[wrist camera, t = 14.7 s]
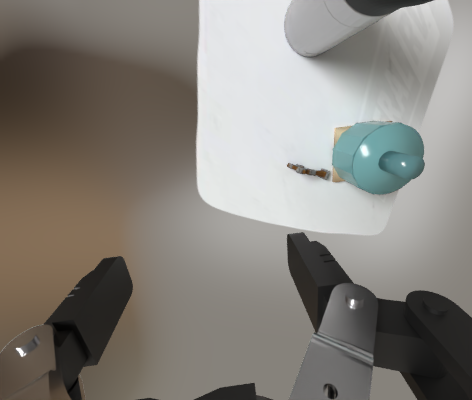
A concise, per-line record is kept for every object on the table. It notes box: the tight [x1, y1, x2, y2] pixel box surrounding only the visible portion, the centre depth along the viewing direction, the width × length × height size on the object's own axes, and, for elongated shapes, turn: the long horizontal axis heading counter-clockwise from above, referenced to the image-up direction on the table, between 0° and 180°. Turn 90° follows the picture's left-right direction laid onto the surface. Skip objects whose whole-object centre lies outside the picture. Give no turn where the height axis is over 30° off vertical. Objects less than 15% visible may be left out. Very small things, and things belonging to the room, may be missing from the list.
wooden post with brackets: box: [287, 163, 330, 180], centre depth 44 cm, size 2×8×4 cm, turn 76°
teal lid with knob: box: [332, 121, 425, 194], centre depth 38 cm, size 12×12×13 cm
